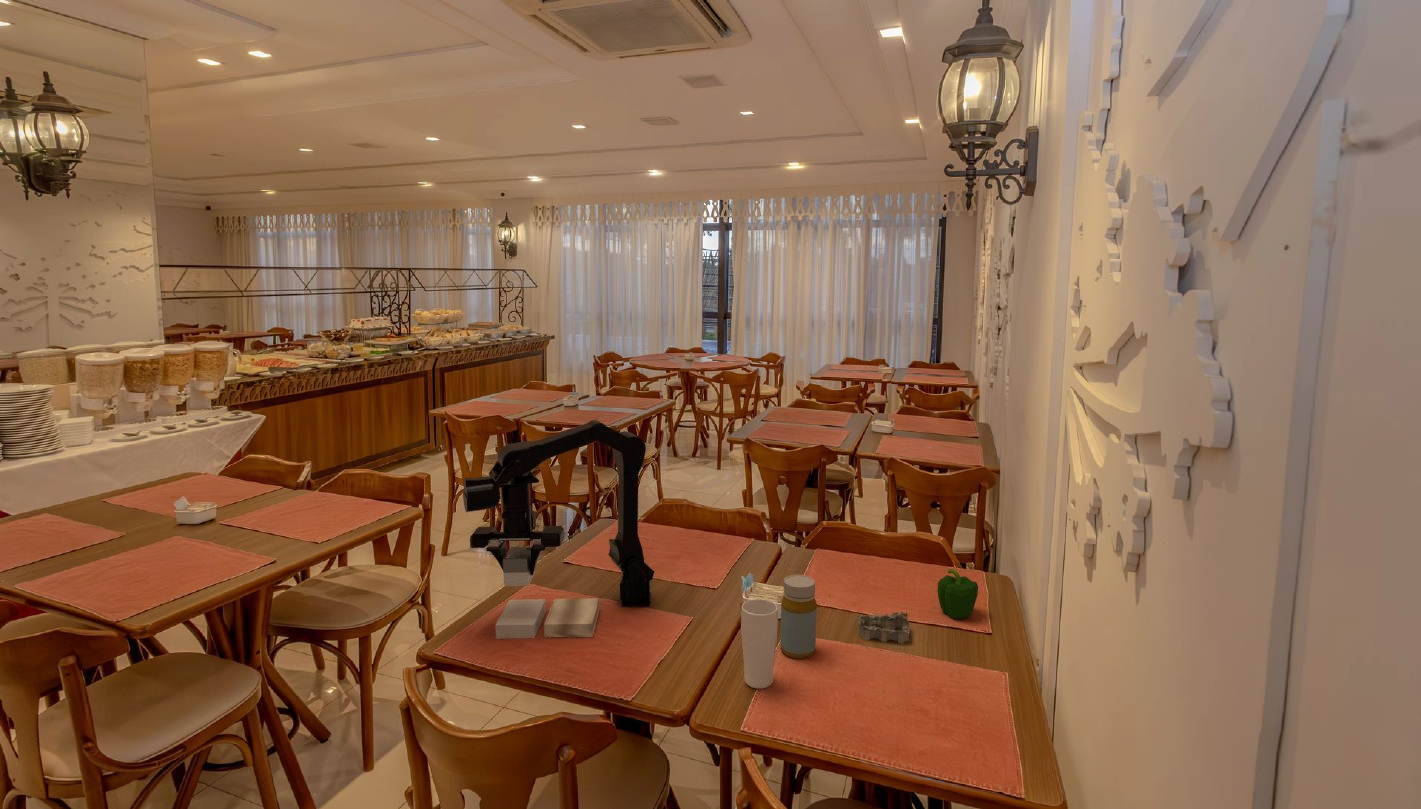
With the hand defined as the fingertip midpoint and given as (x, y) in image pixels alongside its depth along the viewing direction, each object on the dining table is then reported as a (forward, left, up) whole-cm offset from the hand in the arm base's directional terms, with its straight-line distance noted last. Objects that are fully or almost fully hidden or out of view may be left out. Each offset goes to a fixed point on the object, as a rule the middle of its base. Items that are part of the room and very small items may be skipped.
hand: (519, 574), depth 154 cm
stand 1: (0, 0, -11) cm, 11 cm away
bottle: (-58, +13, -12) cm, 61 cm away
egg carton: (-77, +7, -12) cm, 78 cm away
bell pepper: (-96, -2, -12) cm, 97 cm away
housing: (0, 0, -1) cm, 1 cm away
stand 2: (-11, 0, -11) cm, 16 cm away
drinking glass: (-49, +24, -12) cm, 56 cm away
